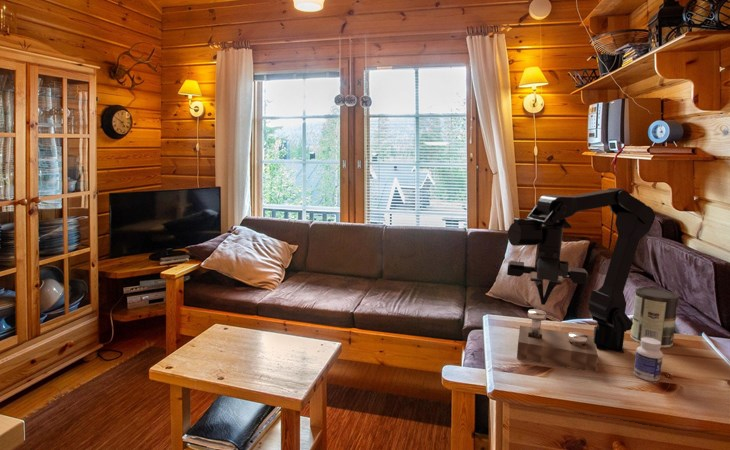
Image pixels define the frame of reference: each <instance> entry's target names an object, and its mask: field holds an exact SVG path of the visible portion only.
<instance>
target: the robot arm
mask: <svg viewBox="0 0 730 450" xmlns="http://www.w3.org/2000/svg"><path fill="white" fill-rule="evenodd" d="M605 207H609V209H610V211H611V213H613V214H614V215H615V216H616V217H615V222H614V223H615V228H616V231H617V238H616V242H615V245H614V249H613V251H612V254H611V258H610V262H609V265H608V267H607V270H606V274H605V277H604V281H603V284H602V286H601V287H600V288H598V289H597V290H595V289H592V290H591V292H590V298H589V300H588V301H587V304H588V311H589V313H590V315H591V319H592V321H595V322H597V323H596V326H594V327H593V328H594V329H593V336H592V337H593V340H594V344H595V347H596V349H597V350H598V349H599V350H602V351H603V350H605V351H610V352H617V353H625V350H624V340H625V333H627V331H631V330H632V325H633V322H632V321H633V320H632V319H630V317H629V316H628V315H627V314H626V309H627V308H626V307H627V301H626V298H625V297H626V296H625V293H624V291H625V287H626V284H627V281H628V278H629V274H630V271H631V268H632V265H633V261H634V258H635V256H636V253H637V249H638V246H639V242H640V241H641V240H642V239H643V237H645V236H646V235H647V234H648V233H649V232H650V231H651V228H652V226H653V225H654V222H655V220H656V213H655V211H654V209H653V208H652V207H651V206H649V205H647V204H645V202H643V201H642V200H640V199H638V198H637V197H634V196H633V195H632V194H630V192H628V191H627V190H626V189H623V188H615V187H614V188H613V187H609V188H607V189H603V190H597V191H590V192H586V193H580V194H579V193H577V194H574V195H560V194H544V195H541V196H540V197H539V199H538V200H537V202H536V205H535V206H534V207H533V209H531V211H530V212H529V213H528V215H527V216H526V218H520V217H514V219H513V222H512V223H511V224H510V226H509V228H508V229H507V239H508V242H509V244H510V245H511V246H516V247H517V246H520V247H521V246H536V249H535V261H534V266H528V265H525V262H524V261H516V260H511V261H509V262H508V264H507V272H506V275H507V276H511V277H518V278H519V277H521V276H524V274H527V275H528V274H529V275H530V276H529V277H530V279H529V280H530V282H534V284H535V285H536V288H537V291H538V295H539V299H540V304H541V305H542V306H546V303H547V301H548V299H549V298H550V295H551V293H552V291H553V290H554V289H555V287H557V285H562V284H563V282H562V279H564V278H565V279H570V280H571V282H572V283H573V284H578V285H588V284H589V274H588V272H587V270H586V269H585V268H582V267H581V268H580V267H571V266H570V267H569V261H566V260H561V255H562V254H561V253H562V244H563V243H562V242H563V235H564V233H563V232H564V229H571V228H572V225H571V224H570V223H569V222H568V221H567V219H568V218H571V217H572V216H575V214H577V213H579V212H582V211H588V210H593V209H599V208H605ZM545 280H546V281H547V282H546V283H545V284H546V285H545V290H544V281H545Z"/></svg>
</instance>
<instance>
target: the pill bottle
mask: <svg viewBox="0 0 730 450" xmlns="http://www.w3.org/2000/svg"><path fill="white" fill-rule="evenodd" d="M639 344H640V345H639V346H638V347H637V348H636V351H635V360H634V366H633V367H634V368H633V374H634V375H635V376H636V377H638V378H639V379H641V380H645V381H649V382H657V381H660V379H661V373H662V365H663V358H664V353H663V352H662V350H661V342H660V341H658V340H656V339H653V338H647V337H644V338H641V342H640V343H639Z"/></svg>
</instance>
